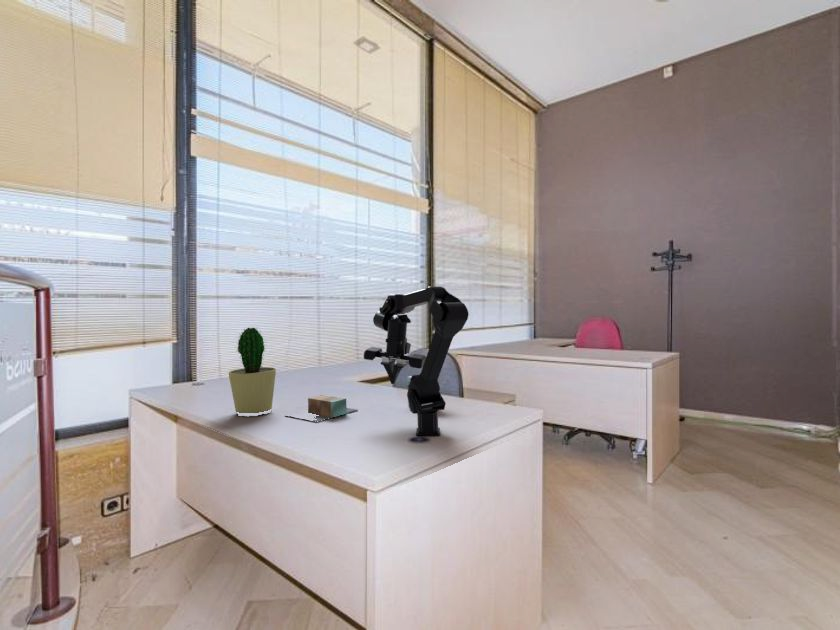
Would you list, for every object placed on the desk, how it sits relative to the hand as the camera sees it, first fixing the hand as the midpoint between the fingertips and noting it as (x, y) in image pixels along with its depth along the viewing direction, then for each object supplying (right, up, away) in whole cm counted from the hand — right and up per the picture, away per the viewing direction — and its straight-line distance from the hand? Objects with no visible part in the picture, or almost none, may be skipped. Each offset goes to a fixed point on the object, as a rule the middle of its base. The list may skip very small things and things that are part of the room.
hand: (393, 383), depth 139 cm
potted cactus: (-49, -13, +15) cm, 52 cm away
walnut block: (-18, -9, +6) cm, 21 cm away
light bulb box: (+9, -11, +15) cm, 21 cm away
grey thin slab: (-25, -12, +11) cm, 30 cm away
